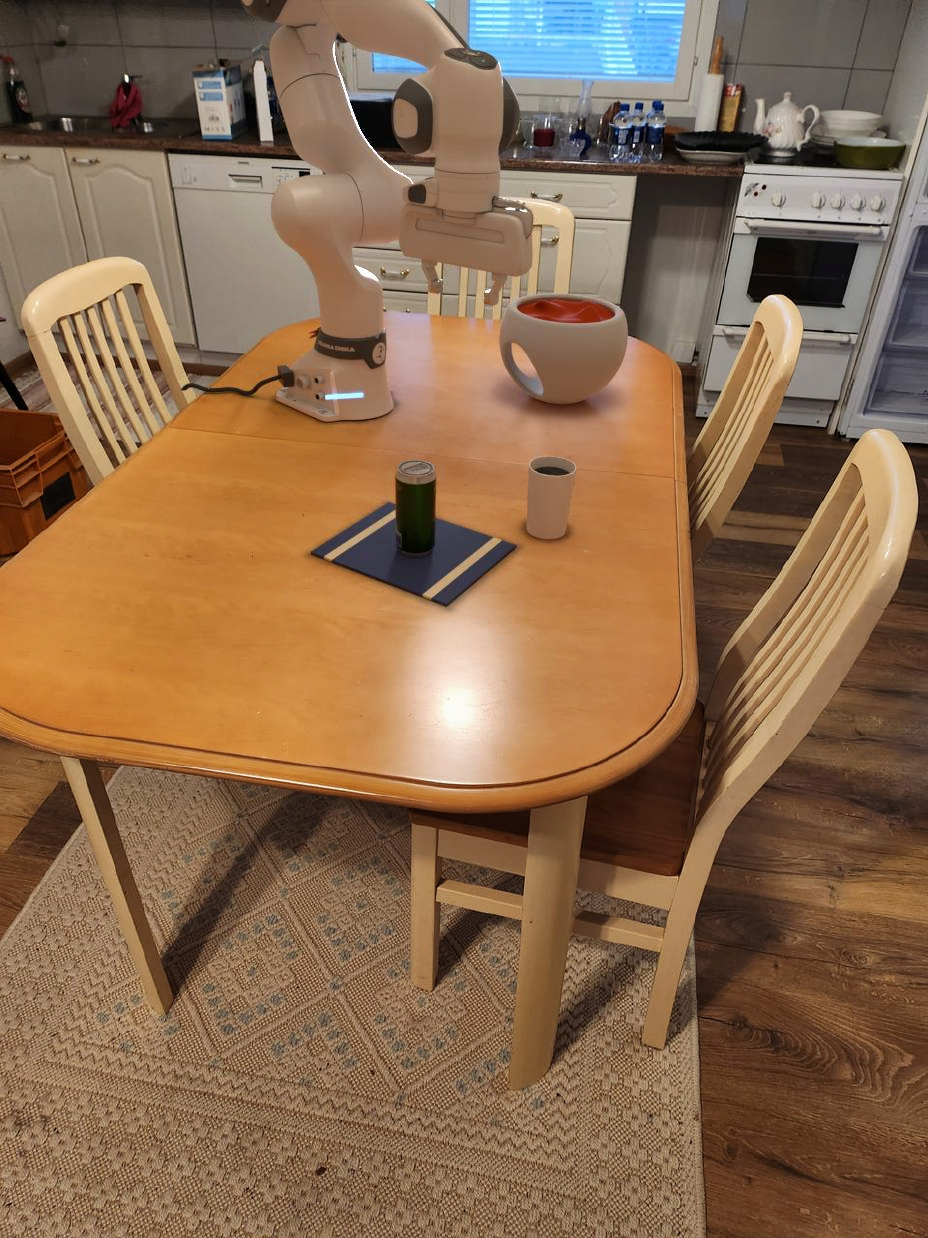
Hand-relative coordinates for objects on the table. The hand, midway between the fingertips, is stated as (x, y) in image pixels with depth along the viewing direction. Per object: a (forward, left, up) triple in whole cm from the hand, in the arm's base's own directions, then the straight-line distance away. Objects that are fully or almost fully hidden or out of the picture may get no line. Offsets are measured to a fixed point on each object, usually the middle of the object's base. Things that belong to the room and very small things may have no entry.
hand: (462, 298), depth 125 cm
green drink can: (+9, -25, -27) cm, 38 cm away
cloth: (+9, -25, -27) cm, 38 cm away
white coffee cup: (+21, -9, -27) cm, 36 cm away
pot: (-2, +40, -27) cm, 48 cm away
